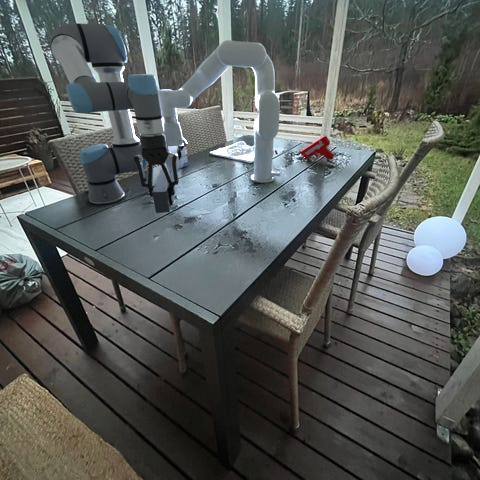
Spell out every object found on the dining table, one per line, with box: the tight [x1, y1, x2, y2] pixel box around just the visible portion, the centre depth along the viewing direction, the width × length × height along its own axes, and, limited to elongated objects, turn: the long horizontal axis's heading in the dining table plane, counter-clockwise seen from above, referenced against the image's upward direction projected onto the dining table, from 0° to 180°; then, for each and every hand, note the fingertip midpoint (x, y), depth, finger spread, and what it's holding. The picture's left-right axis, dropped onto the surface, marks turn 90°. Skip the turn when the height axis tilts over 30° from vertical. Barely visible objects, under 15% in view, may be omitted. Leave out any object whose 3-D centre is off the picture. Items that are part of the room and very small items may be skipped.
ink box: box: [179, 144, 189, 169], centre depth 162 cm, size 8×5×12 cm, turn 135°
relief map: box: [209, 140, 274, 164], centre depth 187 cm, size 27×35×5 cm
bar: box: [152, 146, 180, 214], centre depth 114 cm, size 61×4×7 cm, turn 7°
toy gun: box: [299, 134, 335, 162], centre depth 173 cm, size 18×4×15 cm
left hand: (164, 204), depth 95 cm, fingers closed on bar, 4 cm apart
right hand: (174, 158), depth 136 cm, fingers closed on bar, 4 cm apart
